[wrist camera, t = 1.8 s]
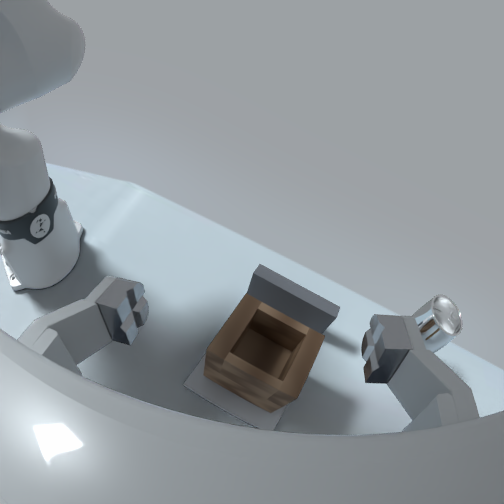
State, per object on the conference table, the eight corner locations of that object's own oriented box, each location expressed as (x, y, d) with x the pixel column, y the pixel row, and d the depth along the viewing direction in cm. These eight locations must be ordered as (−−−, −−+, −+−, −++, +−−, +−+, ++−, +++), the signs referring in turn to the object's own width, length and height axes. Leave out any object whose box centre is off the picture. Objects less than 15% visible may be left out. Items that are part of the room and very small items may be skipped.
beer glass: (371, 338, 42) (426, 288, 31) (402, 343, 42) (457, 298, 31) (372, 375, 37) (435, 334, 26) (404, 378, 37) (467, 339, 26)
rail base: (183, 385, 32) (181, 372, 27) (251, 289, 44) (260, 262, 39) (270, 434, 30) (285, 430, 25) (322, 327, 42) (340, 306, 37)
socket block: (203, 375, 33) (206, 348, 25) (234, 330, 38) (246, 293, 30) (270, 413, 31) (296, 398, 23) (295, 364, 36) (325, 336, 28)
